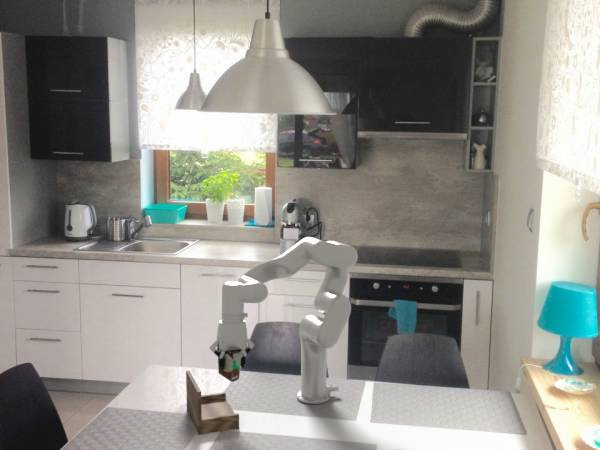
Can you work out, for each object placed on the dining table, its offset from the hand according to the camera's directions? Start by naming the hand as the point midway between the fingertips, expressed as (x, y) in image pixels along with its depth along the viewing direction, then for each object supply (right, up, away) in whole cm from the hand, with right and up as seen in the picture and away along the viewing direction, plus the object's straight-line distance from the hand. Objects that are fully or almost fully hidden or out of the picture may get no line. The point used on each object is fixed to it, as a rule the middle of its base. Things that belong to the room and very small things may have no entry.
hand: (231, 366), depth 248 cm
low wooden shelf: (-7, -18, +1) cm, 20 cm away
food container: (0, -3, +1) cm, 4 cm away
